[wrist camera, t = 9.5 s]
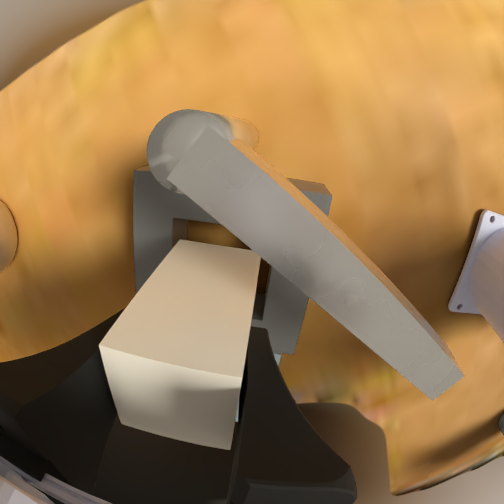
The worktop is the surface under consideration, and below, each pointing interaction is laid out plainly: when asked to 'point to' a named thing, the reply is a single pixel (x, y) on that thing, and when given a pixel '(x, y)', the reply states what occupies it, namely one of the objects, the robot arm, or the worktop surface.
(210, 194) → the grey piece
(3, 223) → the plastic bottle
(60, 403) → the robot arm
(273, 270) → the socket block
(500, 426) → the moka pot
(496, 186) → the worktop surface
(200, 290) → the plug
